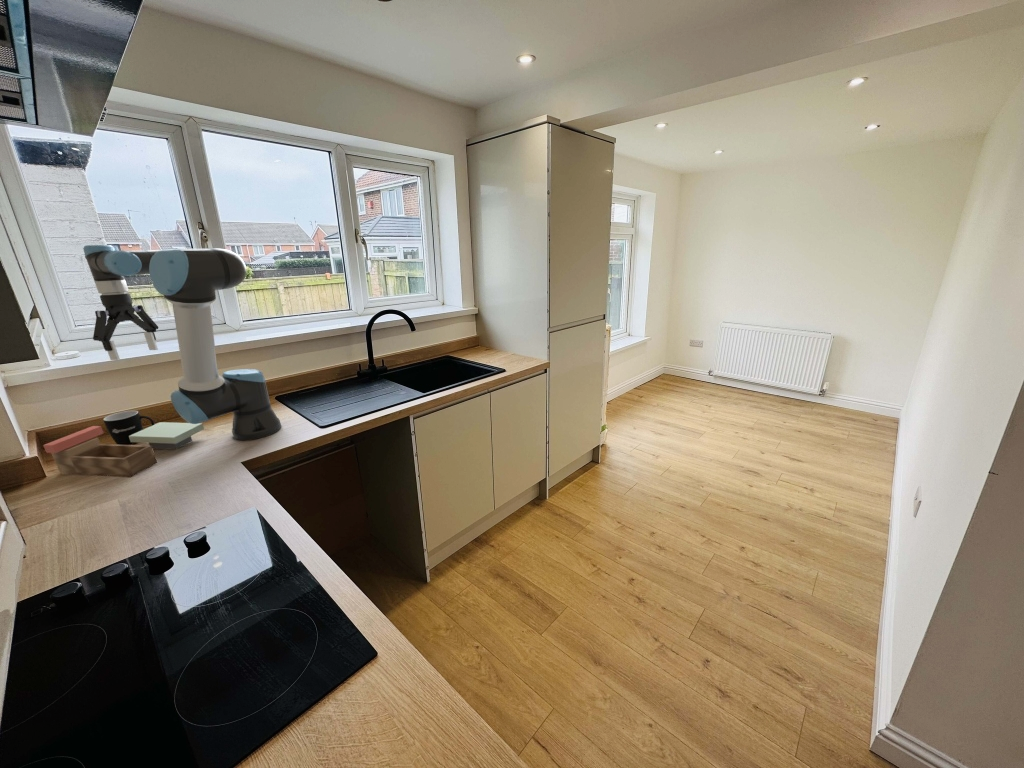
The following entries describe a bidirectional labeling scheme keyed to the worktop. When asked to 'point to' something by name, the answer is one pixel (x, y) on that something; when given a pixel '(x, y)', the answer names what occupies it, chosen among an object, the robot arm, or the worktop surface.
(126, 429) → the mug
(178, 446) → the lid rest
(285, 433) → the worktop surface
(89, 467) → the toolbox
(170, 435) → the lid
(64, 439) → the red rectangular bar
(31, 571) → the worktop surface
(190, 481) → the worktop surface
